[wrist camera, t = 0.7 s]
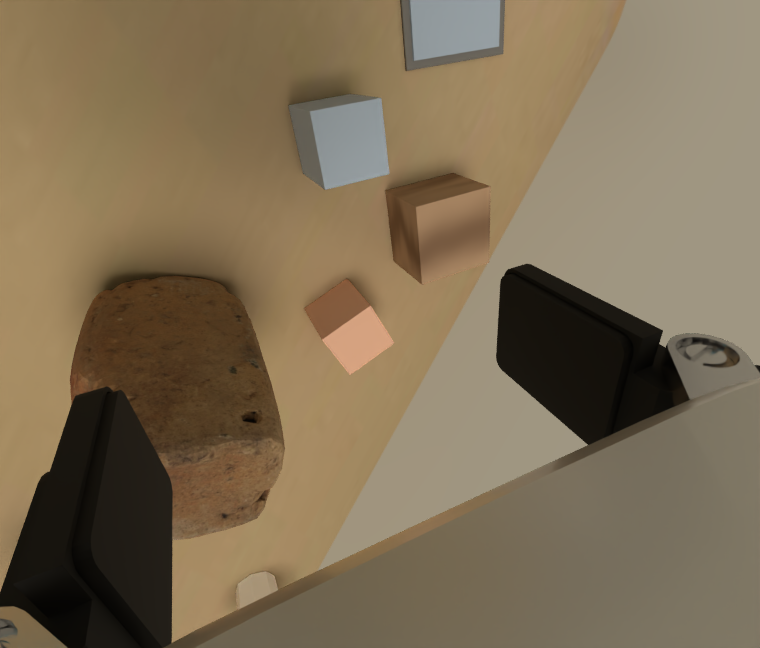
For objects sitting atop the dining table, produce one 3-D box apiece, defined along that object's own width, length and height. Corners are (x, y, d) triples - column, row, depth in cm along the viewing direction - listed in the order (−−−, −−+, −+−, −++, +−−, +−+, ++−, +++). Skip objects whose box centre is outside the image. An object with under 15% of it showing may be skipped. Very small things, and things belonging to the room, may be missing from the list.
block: (245, 279, 37) (305, 437, 21) (231, 353, 40) (275, 541, 24) (95, 261, 31) (26, 452, 16) (91, 348, 34) (30, 583, 19)
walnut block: (384, 190, 38) (416, 206, 33) (452, 172, 40) (490, 186, 35) (393, 260, 42) (422, 284, 37) (454, 241, 44) (489, 262, 39)
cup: (263, 601, 60) (279, 690, 51) (219, 600, 56) (230, 697, 47) (289, 568, 59) (310, 654, 50) (246, 566, 55) (262, 659, 46)
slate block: (288, 105, 32) (309, 111, 27) (350, 93, 33) (381, 97, 28) (303, 173, 35) (325, 189, 30) (359, 160, 36) (389, 174, 31)
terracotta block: (303, 308, 40) (322, 339, 36) (346, 278, 41) (370, 305, 36) (330, 341, 44) (350, 374, 39) (369, 313, 44) (394, 343, 39)
